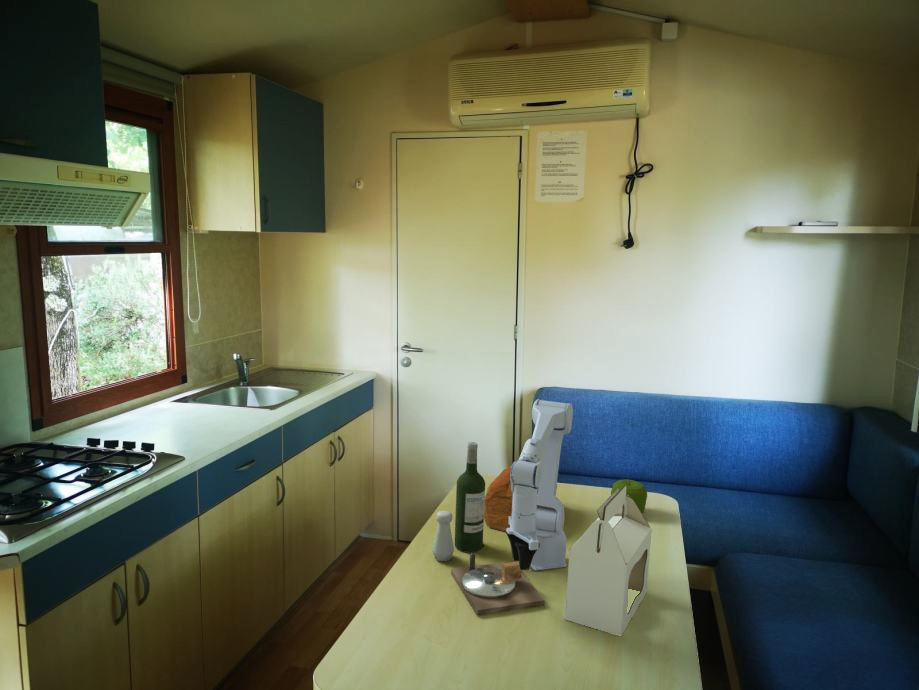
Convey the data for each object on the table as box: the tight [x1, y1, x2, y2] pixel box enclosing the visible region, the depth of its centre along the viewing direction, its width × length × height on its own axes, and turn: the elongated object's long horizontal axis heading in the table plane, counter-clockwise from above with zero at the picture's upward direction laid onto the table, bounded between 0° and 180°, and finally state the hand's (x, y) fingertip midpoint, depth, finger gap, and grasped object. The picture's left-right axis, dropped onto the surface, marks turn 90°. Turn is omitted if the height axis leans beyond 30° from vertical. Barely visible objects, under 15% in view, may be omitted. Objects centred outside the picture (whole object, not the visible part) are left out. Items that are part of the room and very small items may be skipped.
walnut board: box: [450, 552, 546, 617], centre depth 172 cm, size 17×20×6 cm
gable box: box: [564, 486, 653, 635], centre depth 164 cm, size 22×13×28 cm, turn 151°
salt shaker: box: [432, 510, 455, 562], centre depth 187 cm, size 6×6×13 cm
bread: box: [484, 465, 558, 533], centre depth 216 cm, size 16×27×16 cm, turn 152°
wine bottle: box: [454, 441, 486, 553], centre depth 193 cm, size 8×8×30 cm
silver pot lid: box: [462, 561, 523, 598], centre depth 172 cm, size 15×13×5 cm
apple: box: [610, 479, 648, 517], centre depth 222 cm, size 11×11×11 cm
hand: (521, 564), depth 166 cm, fingers open, 4 cm apart
